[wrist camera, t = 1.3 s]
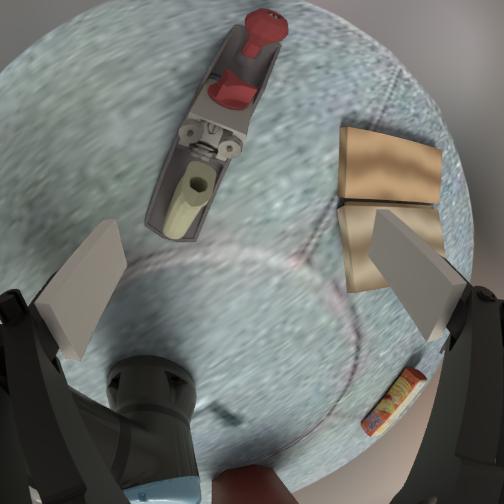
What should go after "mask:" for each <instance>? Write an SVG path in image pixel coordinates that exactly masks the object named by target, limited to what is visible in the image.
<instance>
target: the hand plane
mask: <svg viewBox="0 0 504 504" xmlns="http://www.w3.org/2000/svg"><path fill="white" fill-rule="evenodd" d="M245 27H246V28H245ZM245 27H242V26H238V25H235V26H234V27H233V29H232V30H231V32H230V33H229V35H228V36H227V38H226V39H225V41H224V43H223V44H222V46H221V47H220V49H219V51H218V52H217V54H216V56H215V58H214V59H213V61H212V63H211V64H210V66H209V68H208V70H207V72H206V74H205V76H204V78H203V80H202V82H201V84H200V86H199V88H198V90H197V92H196V94H195V96H194V98H193V100H192V102H191V104H190V106H189V108H188V111H187V113H186V115H185V117H184V119H183V122H182V124H181V126H180V128H179V129H178V130H179V131H178V133H177V135H176V138H175V140H174V143H173V145H172V147H171V150H170V152H169V155H168V157H167V160H166V163H165V165H164V168H163V170H162V173H161V176H160V178H159V181H158V184H157V187H156V189H155V192H154V195H153V198H152V201H151V204H150V207H149V210H148V213H147V216H146V219H145V226H146V227H147V228H149V229H150V230H152V231H153V232H155V233H156V234H158V235H159V236H161V237H162V238H165V239H169V240H172V241H176V242H196V240H197V238H198V235H199V233H200V231H201V228H202V226H203V223H204V221H205V218H206V216H207V214H208V211H209V209H210V206H211V204H212V202H213V199H214V197H215V195H216V192H217V190H218V188H219V186H220V183H221V181H222V179H223V177H224V174H225V172H226V170H227V168H228V165H229V163H230V161H231V159H232V158H236V157H237V156H239V155H240V153H241V152H242V147H243V146H242V144H243V140H244V139H245V137H246V136H247V131H248V126H249V121H250V118H251V116H252V114H253V112H254V110H255V108H256V106H257V104H258V102H259V100H260V98H261V96H262V94H263V92H264V90H265V88H266V85H267V82H268V80H269V77H270V74H271V72H272V69H273V67H274V64H275V61H276V59H277V56H278V54H279V51H280V48H281V45H280V44H278V43H277V42H279V41H282V40H283V39H284V38H285V37H286V36H287V35H288V23H287V20H286V19H285V18H284V17H283V16H281V15H280V14H278V13H276V12H274V11H272V10H269V9H258V10H256V11H254V12H252V13H250V14H248V15H247V16H246V18H245ZM211 73H212V74H215V75H217V76H220V77H221V79H220V80H219V81H216V80H214V79H211V78H209V76H210V74H211Z"/></svg>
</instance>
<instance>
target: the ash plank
mask: <svg viewBox="0 0 504 504" xmlns="http://www.w3.org/2000/svg"><path fill="white" fill-rule="evenodd" d="M377 209H385V210H390V211H391V212H392V213H394V214H395V215H396V216H397V217H398V218H399V219H401V220H402V221H403V222H404V223H405V224H406V225H408V226H409V227H410V228H411V229H412V230H413V231H414V232H415V233H417V234H418V235H419V236H420V237H421V238H422V239H423V240H424V241H425V242H426V243H427V244H429V245H430V246H431V247H432V248H433V249H434V250H435V251H436V252H437V253H438V254H439V255H441V256H443V257H444V258H445V250H444V242H443V236H442V229H441V223H440V218H439V212H438V209H432V206H428V205H414V204H397V203H377V202H349V201H347V202H345V203H344V206H342V207H340V208H339V209H337V212H338V219H339V226H340V233H341V241H342V248H343V257H344V266H345V275H346V286H347V293H357V292H363V291H369V290H374V289H380V288H385V287H390V286H389V284H388V283H387V281H386V280H385V279H384V277H383V276H382V274H381V273H380V272H379V270H378V269H377V267H376V266H375V265H374V263H373V262H372V261H371V259H370V258H369V257H368V253H369V248H370V243H371V238H372V233H373V227H374V222H375V216H376V210H377ZM445 259H446V258H445Z"/></svg>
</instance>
